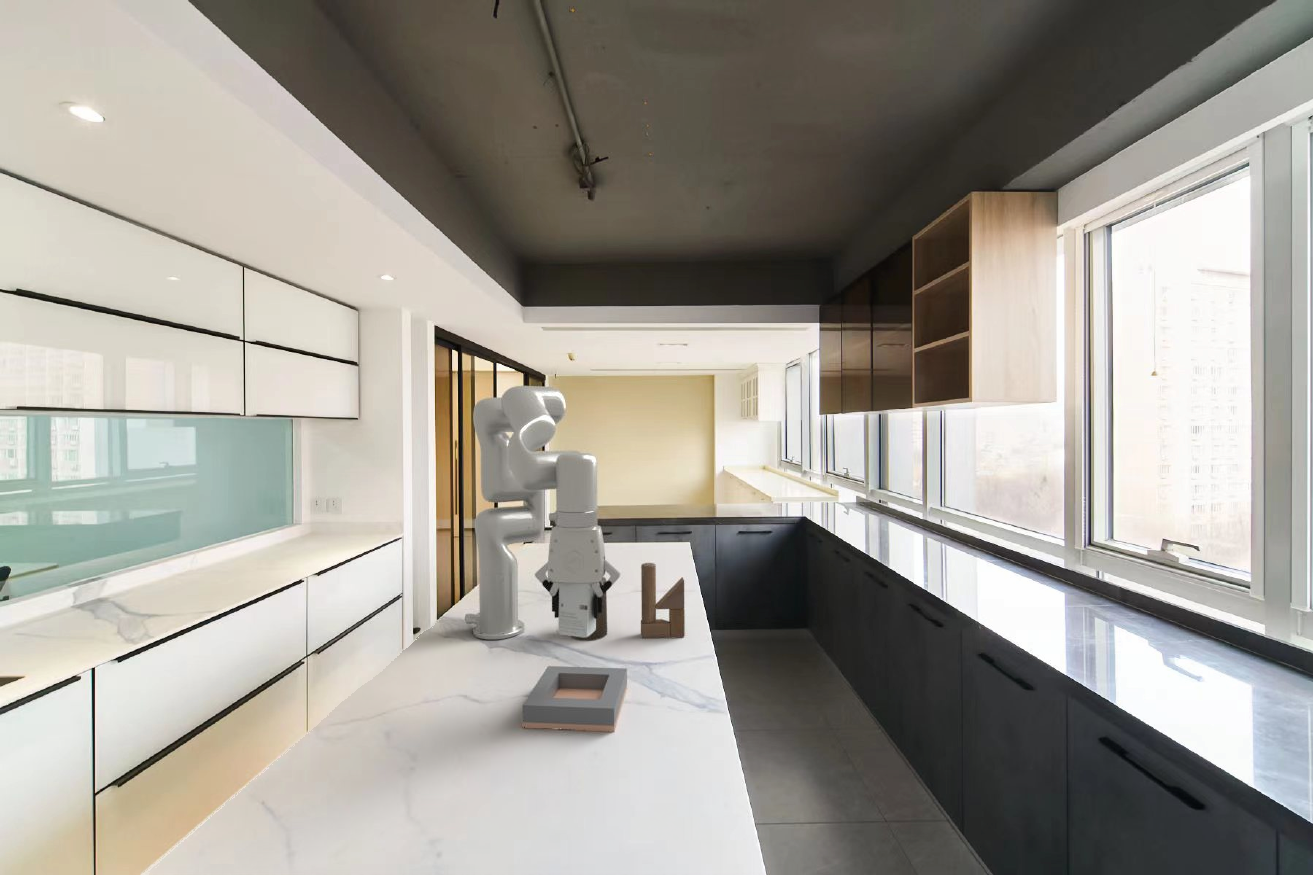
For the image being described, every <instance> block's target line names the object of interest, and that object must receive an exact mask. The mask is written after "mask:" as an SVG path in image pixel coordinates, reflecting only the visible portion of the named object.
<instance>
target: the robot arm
mask: <svg viewBox="0 0 1313 875" xmlns="http://www.w3.org/2000/svg"><path fill="white" fill-rule="evenodd" d="M566 409H567V404H566V400H565V397H564V394H563V393H562V391H560V390H559V389H558V388H557V387H554V386H538V385H536V386H535V385H516V386H512V387H510V388H508V389H507V390H506V391H504V392H503V394H502V396H501V397H487V398H483V399H480V400H479V401H477V402H476V403H475V405H474V408H473V415H472V416H473V417H472V418H473V419H472V420H473V426H474V430H475V433H476V437H477V440H478V442H479V447H480V490H481V496H482V498H483V499H484V500H485V501H486V502H488V503H511V502H512V503H513V502H523V505H513V506H502V507H491V508H488V509H484V510H482V511H480V512H479V513H478V514H477V516H476V517H475V520H474V531H475V537H476V544H477V550H478V551H477V552H478V573H479V574H478V576H479V578H478V581H479V584H478V589H479V590H478V592H479V593H478V595H479V598H478V600H479V601H478V602H479V603H478V604H479V612H477V613H476V614H475V613H465V615H464V621H465V624H467V625H469V624H470V625H475V626H474V627H473V632H472V633H473V635H474V636H475V637H476V638H479V639H482V640H488V641H489V640H492V641H493V640H503V639H509V638H512V637H516V636H518V635H520V634H521V633H522V632H523V631H525V622H523V621H522V620H520V619H519V586H518V585H519V580H518V579H519V577H518V574H519V573H518V571H519V569H518V568H519V567H518V566H519V563H518V559H517V557H516V556H515V554H514V553H513V552H512V551H511V550H510V549H509V547H508V546H509V545H514V544H520V543H522V544H523V543H529V542H535V541H538V540H540V539H541V538H542V536H543V534H544V532H545V523H546V521H545V520H546V513H545V512H546V511H545V510H546V508H545V507H546V506H545V505H546V503H545V502H546V500H545V498H546V497H545V496H546V493H545V492H546V491H547V490H556V491H555V492H556V493H555V495H556V496H555V499H556V501H555V502H556V504H555V507H556V510H555V511H554V512H553V513H552V512H550V513H548V520H549V521H553V522H554V524H555V526H553V527H552V528H551V531H550V532H551V533H550V538H549V546H548V557H547V558H548V559H547V562H546V563H545V564H544V565H543V566H542V567H540V568H539V569H538V570H537V571H536V572H535V573H534V577H535V578H536V579H537V580H538V581H539V583H541V586H543V587H544V588H545V590H546V591H547V592H548V593H549V596H551V611H552V612H553V613H554V619H559V586H560V583H562V584H592V586H593V588H594V591H595V596H594V618H595V619H598V617H599V616H600V613H603V594H604V593H605V592H606V593H607V591H609V589H610V588H612V586H613V585H614V584H615V583H616V582H617V581H618V579H619V578H620V577H621V572H619V571H618V570H617V569H616V568H615V567H614V566H613V565H612V564H611V563H610V562H609V561H607V559H606V553H605V552H606V550H605V542H604V536H603V530H602V526H601V525H598V462H597V458H596V456H595V455H594V454H592V453H589V452H581V451H577V450H538V449H541V448H542V447H544V446H546V445H548V444H549V442H551V440H552V439H553V438H554V437H555V433H556V425H557V424H558V423H560V422H561V421H562V420H563V419H564V416H565V414H566V411H567V410H566ZM507 433H513V434H512V435H511V436H509V434H507ZM537 450H538V451H537ZM606 573H607V575H609V576H610V577H609V578H608V579H606V582H605V583H604V584H603V583H602V581H601V580H602V578H603V577H605V575H606ZM546 574H547V575H546Z"/></svg>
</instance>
